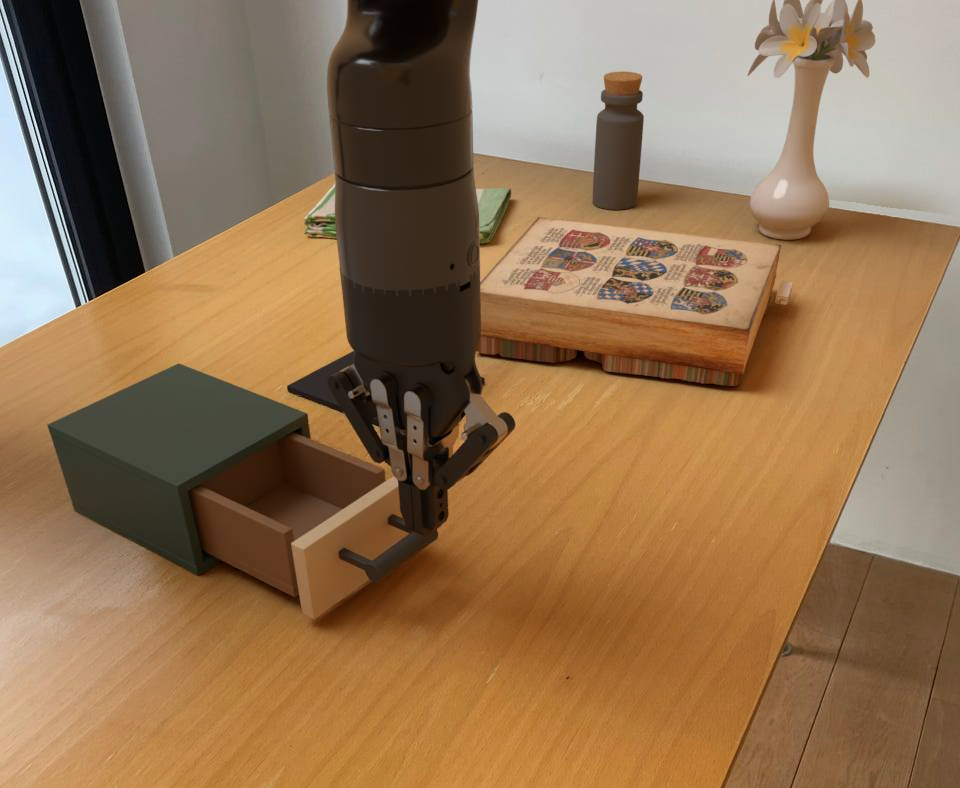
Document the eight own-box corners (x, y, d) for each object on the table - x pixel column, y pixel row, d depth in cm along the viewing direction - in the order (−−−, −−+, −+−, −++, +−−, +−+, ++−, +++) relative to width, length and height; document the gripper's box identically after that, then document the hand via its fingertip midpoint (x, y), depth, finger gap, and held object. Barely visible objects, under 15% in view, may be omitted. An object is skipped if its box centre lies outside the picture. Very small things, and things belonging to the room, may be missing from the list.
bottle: (583, 200, 138) (589, 73, 128) (621, 193, 140) (629, 67, 130) (607, 213, 134) (616, 83, 124) (645, 205, 136) (656, 77, 126)
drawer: (464, 559, 75) (462, 490, 71) (357, 642, 68) (349, 570, 65) (291, 483, 83) (281, 418, 79) (181, 551, 76) (164, 483, 73)
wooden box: (791, 297, 113) (543, 265, 120) (803, 237, 109) (545, 208, 116) (759, 399, 95) (471, 355, 103) (771, 333, 91) (470, 292, 98)
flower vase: (833, 208, 134) (879, -20, 118) (837, 260, 120) (889, 10, 104) (730, 202, 136) (761, -23, 120) (722, 252, 123) (756, 7, 106)
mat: (287, 391, 97) (286, 385, 97) (373, 346, 105) (372, 340, 104) (401, 435, 91) (401, 429, 90) (484, 383, 98) (484, 377, 98)
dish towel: (491, 248, 125) (490, 225, 123) (302, 239, 128) (299, 216, 126) (511, 199, 138) (511, 178, 136) (340, 193, 141) (338, 171, 139)
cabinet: (319, 499, 83) (307, 413, 78) (198, 576, 76) (177, 486, 71) (196, 445, 90) (178, 362, 85) (74, 510, 82) (46, 424, 77)
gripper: (271, 252, 56) (309, 520, 68) (464, 309, 50) (471, 594, 61) (364, 214, 61) (385, 471, 72) (551, 262, 55) (543, 535, 66)
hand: (425, 527), depth 67 cm, fingers closed
